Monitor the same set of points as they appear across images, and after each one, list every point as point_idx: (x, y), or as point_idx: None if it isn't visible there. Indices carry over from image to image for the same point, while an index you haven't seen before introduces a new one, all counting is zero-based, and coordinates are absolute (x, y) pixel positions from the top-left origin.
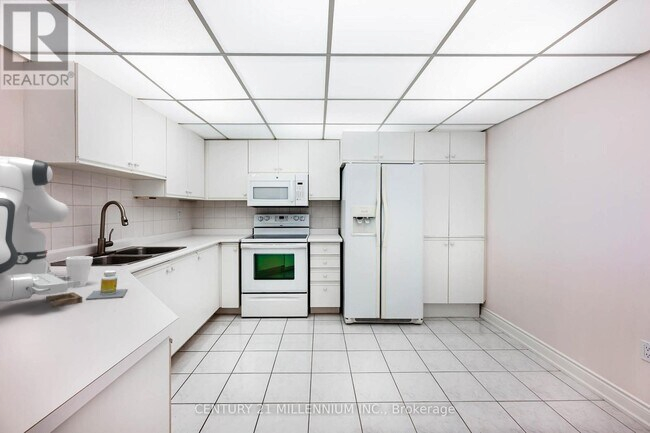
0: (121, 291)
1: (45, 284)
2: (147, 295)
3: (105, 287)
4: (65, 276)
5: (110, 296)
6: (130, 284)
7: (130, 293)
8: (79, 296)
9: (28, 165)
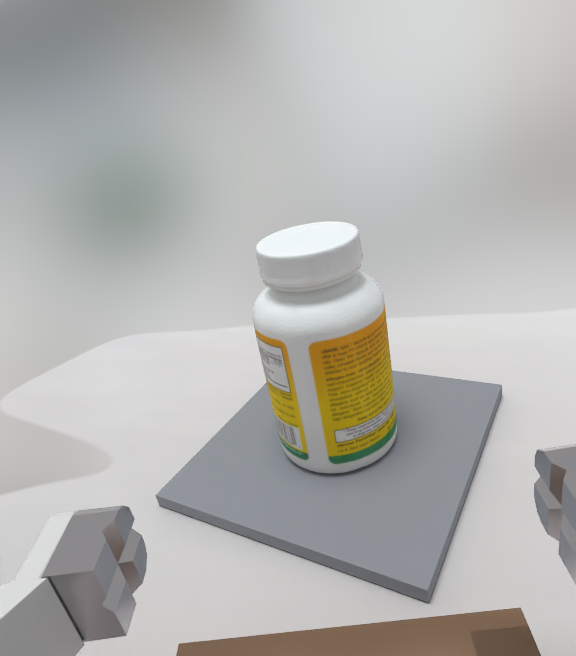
0: None
1: None
2: (510, 316)
3: (377, 394)
4: (43, 560)
5: (460, 436)
6: (159, 348)
7: (395, 362)
8: (461, 629)
9: None
